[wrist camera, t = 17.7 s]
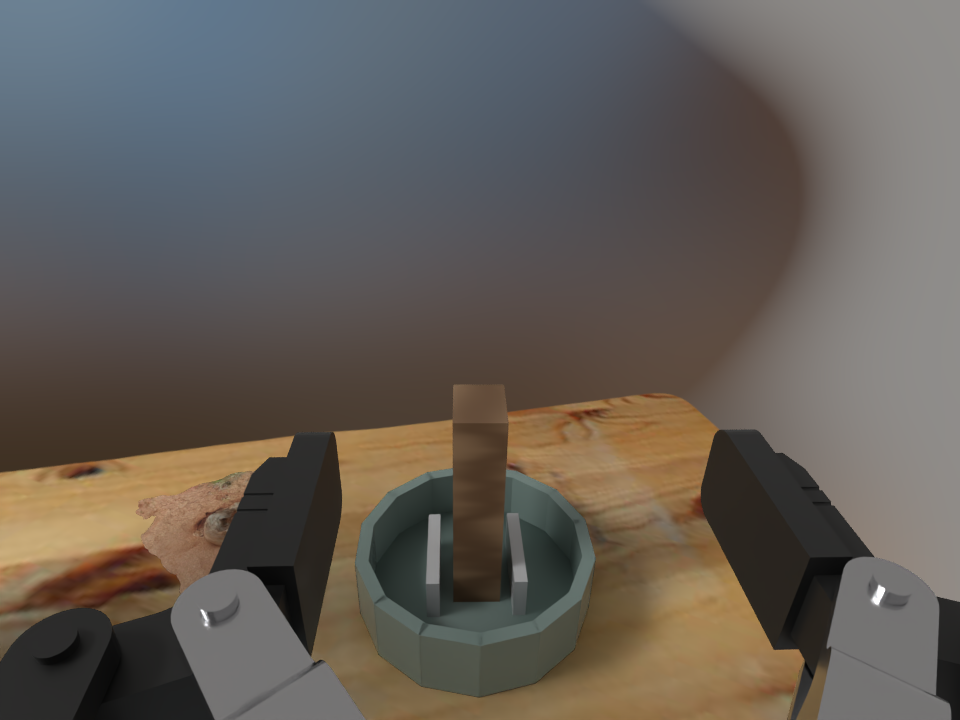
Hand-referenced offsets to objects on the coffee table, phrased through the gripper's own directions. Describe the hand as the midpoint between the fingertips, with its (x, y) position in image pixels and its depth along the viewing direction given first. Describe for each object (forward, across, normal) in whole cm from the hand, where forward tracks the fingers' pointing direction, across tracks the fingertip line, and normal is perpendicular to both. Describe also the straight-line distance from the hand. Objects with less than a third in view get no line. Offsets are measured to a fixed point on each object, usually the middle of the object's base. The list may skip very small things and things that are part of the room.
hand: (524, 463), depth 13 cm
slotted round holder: (+19, 0, +26) cm, 32 cm away
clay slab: (+24, +19, +27) cm, 41 cm away
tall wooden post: (+19, 0, +25) cm, 31 cm away
